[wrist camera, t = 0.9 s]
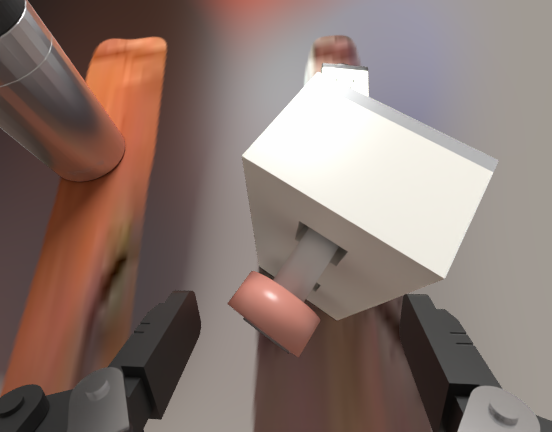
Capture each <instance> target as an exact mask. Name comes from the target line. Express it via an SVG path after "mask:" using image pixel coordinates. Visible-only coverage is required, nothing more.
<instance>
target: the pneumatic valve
mask: <svg viewBox="0 0 552 432" xmlns="http://www.w3.org/2000/svg"><path fill="white" fill-rule="evenodd" d="M321 74H323V75H325V76H327V77H330V78H332V79H334V80H336V81H338V82H340V83H342V84H344V85H346V86H348V87H350V88H352V89H354V90H356V91H358V92H360V93H362V94H364V95H366V96H368V97H369V87H368V68H367V67H362V66H350V65H348V64H327V63H323V64H322V68H321Z"/></svg>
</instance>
